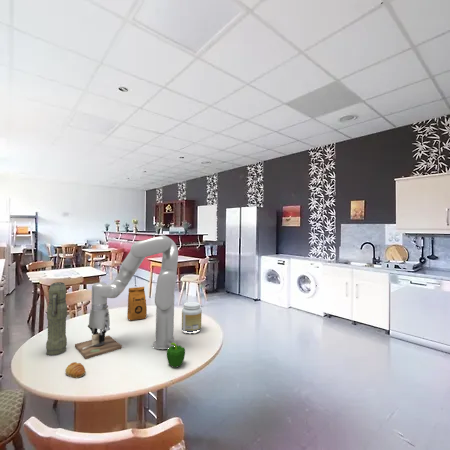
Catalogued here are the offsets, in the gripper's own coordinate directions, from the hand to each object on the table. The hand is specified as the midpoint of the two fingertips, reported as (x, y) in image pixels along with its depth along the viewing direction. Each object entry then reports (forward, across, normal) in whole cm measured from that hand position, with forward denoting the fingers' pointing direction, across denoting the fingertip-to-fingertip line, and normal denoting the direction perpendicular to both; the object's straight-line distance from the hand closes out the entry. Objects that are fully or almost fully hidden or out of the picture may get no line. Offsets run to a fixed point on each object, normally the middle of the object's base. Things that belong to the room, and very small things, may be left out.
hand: (98, 340), depth 148 cm
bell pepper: (+4, -47, +2) cm, 47 cm away
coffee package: (+4, +9, -46) cm, 47 cm away
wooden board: (+4, 0, 0) cm, 4 cm away
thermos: (+4, +16, +11) cm, 20 cm away
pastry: (+4, -9, +23) cm, 26 cm away
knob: (+2, +1, +3) cm, 3 cm away
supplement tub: (+4, -36, -39) cm, 53 cm away
